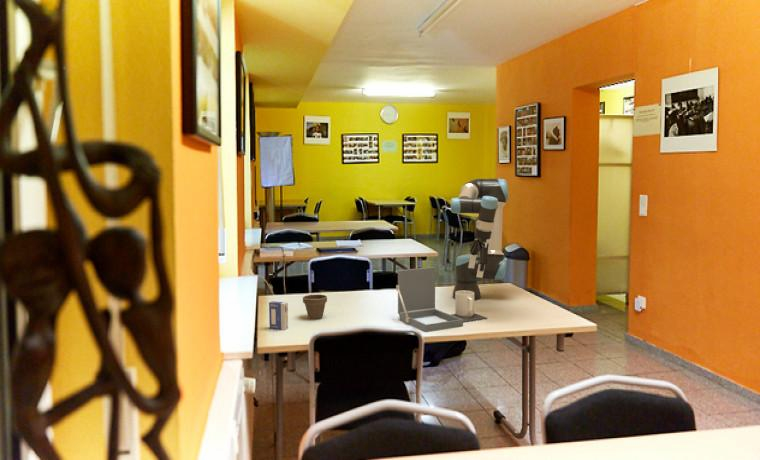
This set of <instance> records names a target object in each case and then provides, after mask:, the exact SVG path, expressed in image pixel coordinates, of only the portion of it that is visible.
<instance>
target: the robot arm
mask: <svg viewBox="0 0 760 460" xmlns="http://www.w3.org/2000/svg"><path fill="white" fill-rule="evenodd" d="M508 189H509V188H508V181H507V180H506V179H504V178H474V179H472V180H469V181H468V182H467V181H466V183H464V184H463V185H462V186H461V188H460V192H459V193H460V194H459V196H458V197H457V196H456V197H452V198H451V200H450V212H451V213H453V214H473V215H474V214H477V215H478V217H477V221H475V224H476V228H475V231H474V239H473V242H472V245H471V246H470V249H469V252H470V253H468V254H462V255H459V256H457V257H456V260H455V261H456V262H455V285H454V287H453V291H452V295H451V296H452V298H453V299H455V292H456V291H463V290H465V291H472V292H474V301H475V300H476V301H477V300H480V299H481V298H482V297H481V296H482V293H481V290H480V288H479V283H478V281H479V280H494V281H496V280H497V281H498V280H503V279H505V278H504V277H505V276H506V270H507V262H508V258H507V257H505V254H504V252H503V251H502V249H503V245H502V244H503V215H504V214H503V212H504V211H503V210H504V206H505V205H507V201H508V202H509V190H508ZM478 252H479V254H478Z"/></svg>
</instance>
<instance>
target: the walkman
mask: <svg viewBox="0 0 760 460" xmlns="http://www.w3.org/2000/svg"><path fill="white" fill-rule="evenodd" d="M288 305H289V303H288V302H284V301H275V300H273V301H270V302H268V312H269V313H268V314H269V315H268V317H269V318H268V319H269V329H271V330H283V331H286V330H288V329H289V309H288V308H289V306H288Z"/></svg>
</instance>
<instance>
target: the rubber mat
mask: <svg viewBox="0 0 760 460" xmlns="http://www.w3.org/2000/svg"><path fill="white" fill-rule="evenodd" d="M450 315H452V316H455V317H458V316H457V315H456V314H455V313H452V314H450ZM458 318H460V319H463V324H464V323H469V322H470V321H471V322H475V321H476V320H477V321H481V320H483V319H484V320H488V317H487V316H483V315H481V314H478V313H475V312H474V315H473V316H472V317H467V318H464V317H458ZM484 320H483V321H484Z"/></svg>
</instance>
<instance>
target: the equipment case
mask: <svg viewBox="0 0 760 460" xmlns="http://www.w3.org/2000/svg"><path fill="white" fill-rule="evenodd" d="M395 288H396V289H395V290H396V291H397V314H398V316H399V317H398V318H399V319H398V320H399V321H401V322H403V323H405V324H407V325H409V326H411V327H414V328H416V329H418V330H420V331H422V332H423V333H424V332H425V333H427V332H434V331H435V332H436V331H440V330H446V329H447V330H448V329H454V328H459V327H464V323H463V319H460V318H458V317H455V316H452V315H451V314H449V313H447V312H445V311H442V310H439V309H436V267H435V266H433V267H432V266H431V267H420V268H410V269H409V268H408V269H399V270H397V284H396V285H395ZM427 317H436V318H440V319H442V320H445V321H442V322H433V323H427V324H426V323H424V322H421V321H419V320H417V319H420V318H427Z"/></svg>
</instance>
